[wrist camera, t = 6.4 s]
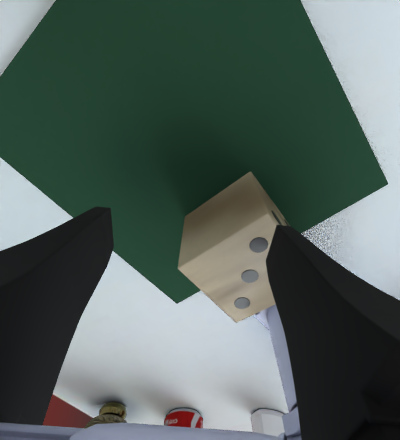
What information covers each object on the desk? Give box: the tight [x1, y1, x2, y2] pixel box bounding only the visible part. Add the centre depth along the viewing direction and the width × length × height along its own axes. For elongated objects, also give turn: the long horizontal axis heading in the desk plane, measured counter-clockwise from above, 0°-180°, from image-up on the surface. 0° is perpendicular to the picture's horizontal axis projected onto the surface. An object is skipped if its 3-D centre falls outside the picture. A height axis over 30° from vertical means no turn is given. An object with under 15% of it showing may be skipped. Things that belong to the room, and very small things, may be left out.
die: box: [178, 172, 290, 323], centre depth 18 cm, size 6×6×6 cm
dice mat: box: [0, 0, 388, 303], centre depth 18 cm, size 21×20×1 cm
